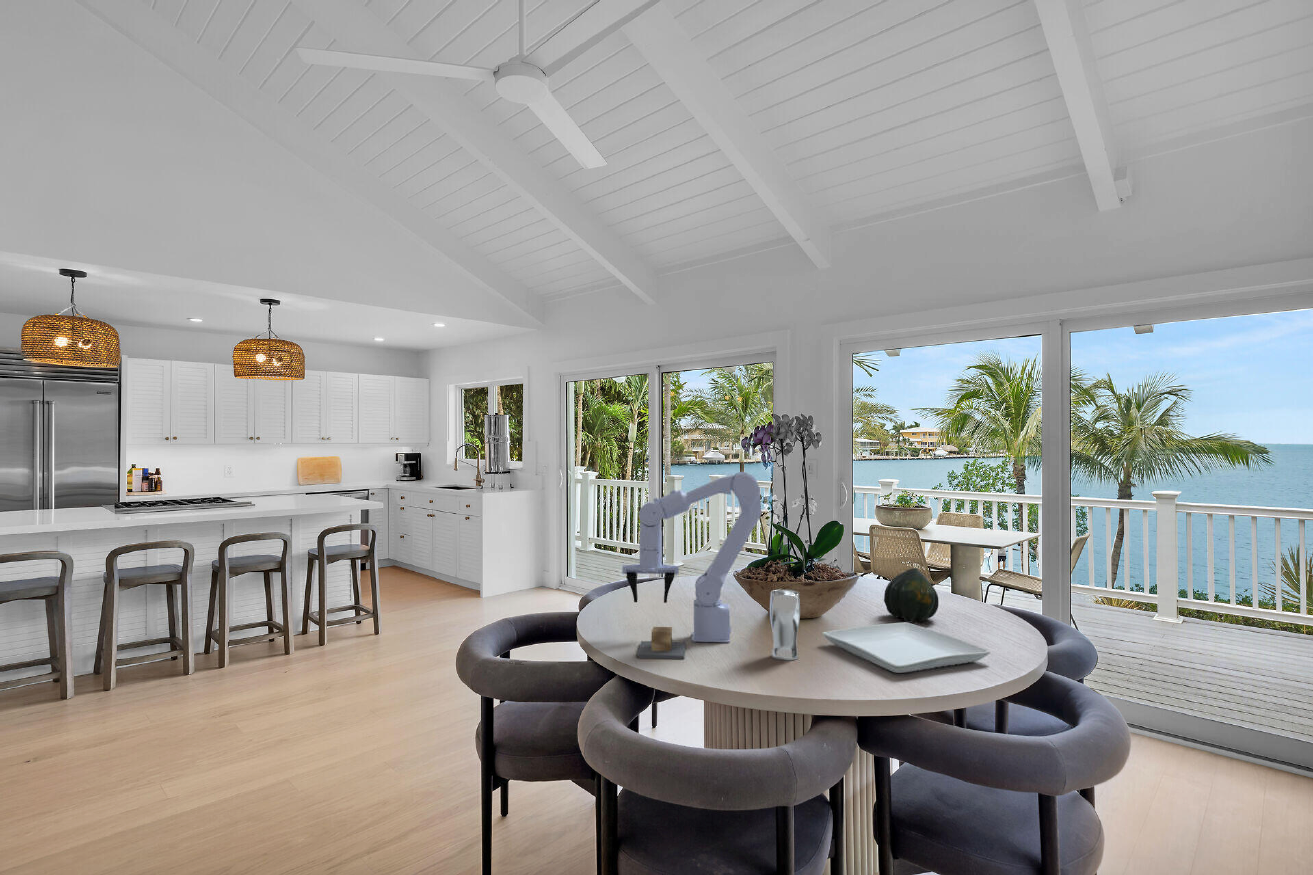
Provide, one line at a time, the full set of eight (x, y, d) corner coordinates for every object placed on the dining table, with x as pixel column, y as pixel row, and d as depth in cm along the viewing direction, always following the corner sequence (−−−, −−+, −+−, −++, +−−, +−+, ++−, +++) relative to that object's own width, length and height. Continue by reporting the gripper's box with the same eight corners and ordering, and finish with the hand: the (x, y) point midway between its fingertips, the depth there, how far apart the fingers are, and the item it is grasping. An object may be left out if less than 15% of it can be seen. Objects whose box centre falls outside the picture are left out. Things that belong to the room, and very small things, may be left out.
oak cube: (671, 645, 162) (671, 627, 162) (670, 651, 157) (670, 632, 157) (653, 645, 162) (653, 626, 162) (651, 650, 157) (651, 631, 158)
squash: (883, 605, 183) (919, 564, 184) (868, 595, 198) (901, 558, 199) (923, 640, 182) (958, 599, 183) (904, 628, 197) (937, 590, 198)
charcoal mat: (685, 645, 165) (685, 641, 165) (684, 659, 154) (684, 655, 154) (641, 644, 166) (641, 640, 166) (636, 657, 155) (636, 654, 155)
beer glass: (804, 655, 157) (803, 591, 157) (794, 663, 151) (794, 596, 151) (776, 650, 160) (775, 588, 161) (765, 658, 154) (765, 593, 155)
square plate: (819, 646, 165) (819, 630, 165) (907, 635, 175) (907, 620, 175) (896, 681, 140) (896, 663, 140) (993, 666, 150) (993, 649, 150)
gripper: (621, 551, 168) (620, 604, 168) (678, 551, 168) (678, 605, 167) (624, 546, 175) (623, 598, 175) (678, 547, 175) (678, 599, 174)
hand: (650, 601), depth 172 cm, fingers open, 7 cm apart
